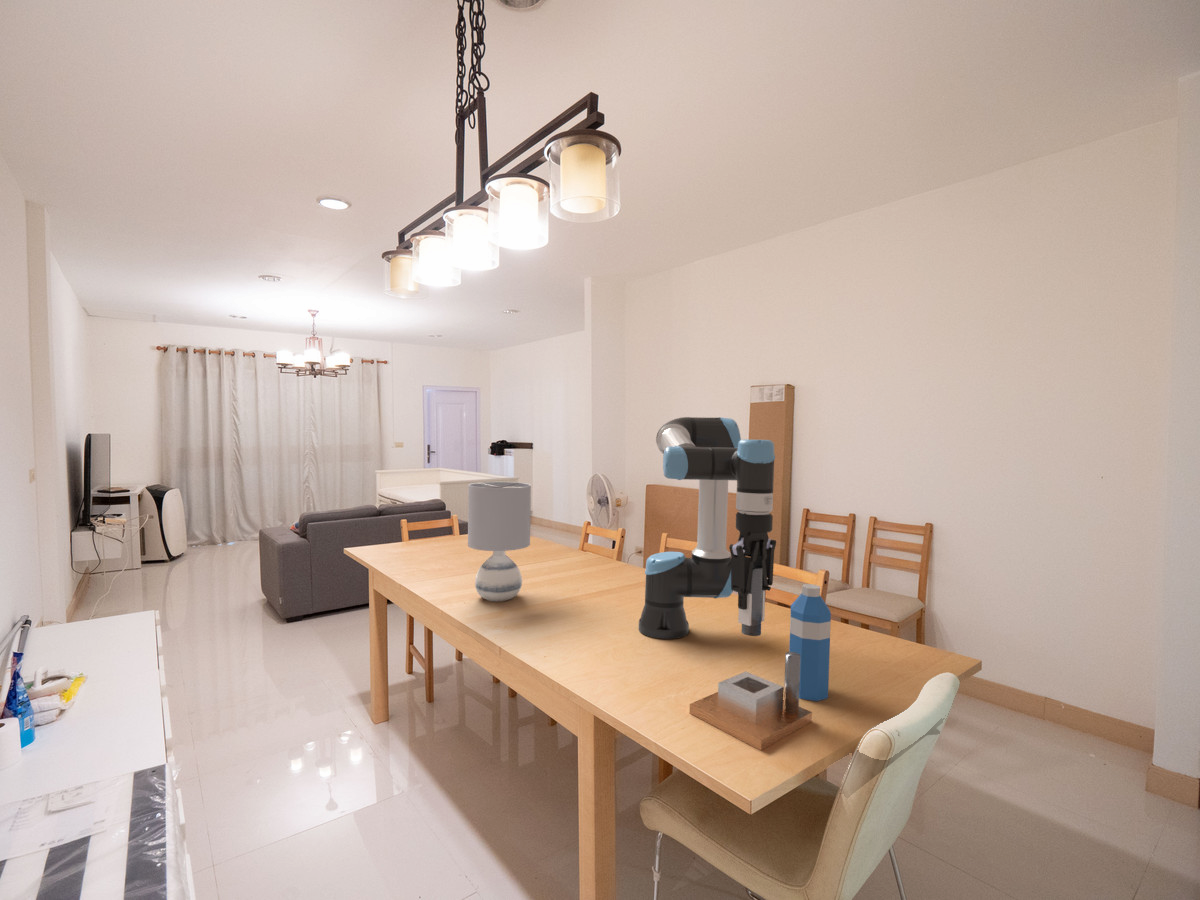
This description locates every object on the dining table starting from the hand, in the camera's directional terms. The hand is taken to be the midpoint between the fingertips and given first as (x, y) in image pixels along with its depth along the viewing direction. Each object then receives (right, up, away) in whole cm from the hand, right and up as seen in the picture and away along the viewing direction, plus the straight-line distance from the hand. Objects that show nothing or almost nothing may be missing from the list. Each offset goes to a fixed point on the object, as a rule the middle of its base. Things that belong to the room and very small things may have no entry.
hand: (751, 621), depth 121 cm
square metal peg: (0, -2, 0) cm, 2 cm away
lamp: (-68, -16, +81) cm, 107 cm away
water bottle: (+17, -20, +12) cm, 29 cm away
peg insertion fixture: (0, -20, 0) cm, 20 cm away
